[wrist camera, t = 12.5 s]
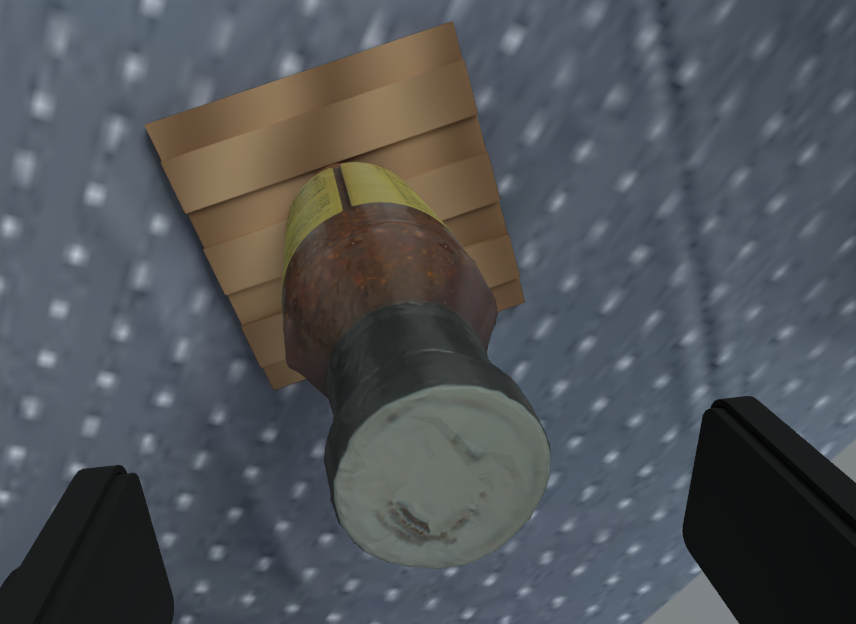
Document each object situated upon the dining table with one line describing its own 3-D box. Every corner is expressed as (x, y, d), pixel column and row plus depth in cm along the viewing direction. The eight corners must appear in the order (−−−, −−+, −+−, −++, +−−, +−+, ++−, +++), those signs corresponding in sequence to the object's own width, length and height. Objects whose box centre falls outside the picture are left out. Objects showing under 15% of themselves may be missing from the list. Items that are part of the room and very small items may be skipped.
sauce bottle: (312, 299, 30) (293, 673, 12) (269, 175, 27) (161, 406, 9) (439, 263, 30) (615, 571, 12) (409, 137, 28) (574, 288, 9)
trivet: (449, 22, 27) (454, 20, 26) (520, 296, 33) (526, 304, 32) (149, 123, 27) (142, 125, 26) (275, 382, 32) (273, 393, 31)
